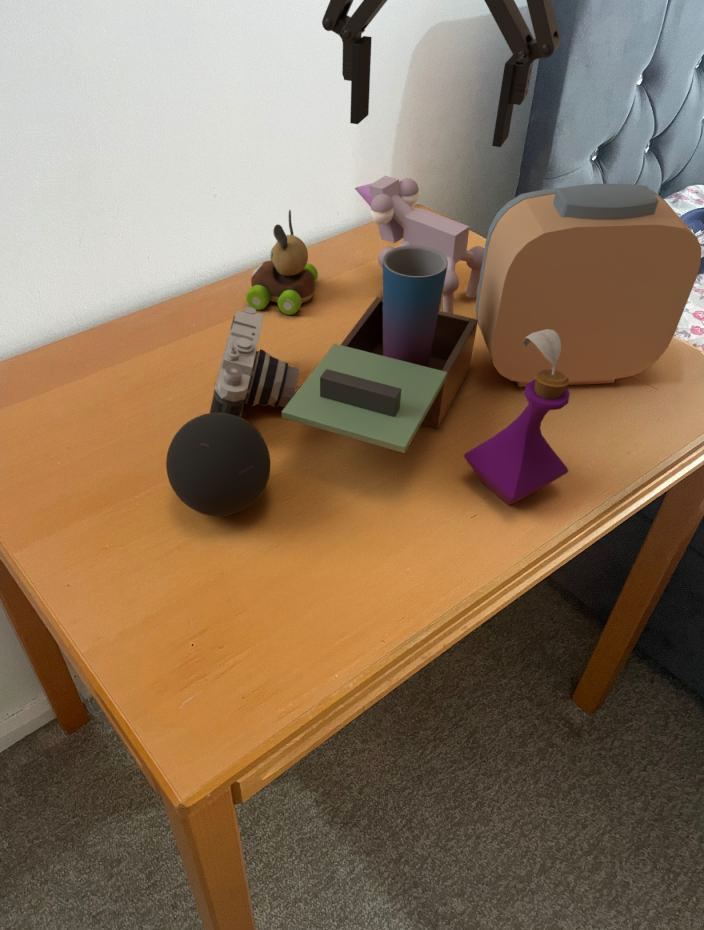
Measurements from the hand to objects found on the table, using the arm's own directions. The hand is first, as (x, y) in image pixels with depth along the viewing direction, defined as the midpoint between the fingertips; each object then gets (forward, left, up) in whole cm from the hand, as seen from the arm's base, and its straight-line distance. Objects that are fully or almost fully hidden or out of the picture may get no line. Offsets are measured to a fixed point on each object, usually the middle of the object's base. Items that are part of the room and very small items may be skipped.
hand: (427, 130), depth 69 cm
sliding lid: (0, +13, -22) cm, 25 cm away
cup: (0, 0, -28) cm, 28 cm away
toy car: (+22, -12, -29) cm, 38 cm away
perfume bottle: (-16, +12, -29) cm, 35 cm away
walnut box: (0, 0, -29) cm, 29 cm away
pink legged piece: (+7, -21, -29) cm, 36 cm away
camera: (+14, +11, -29) cm, 34 cm away
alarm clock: (-16, -11, -29) cm, 35 cm away
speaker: (+10, +26, -29) cm, 40 cm away
